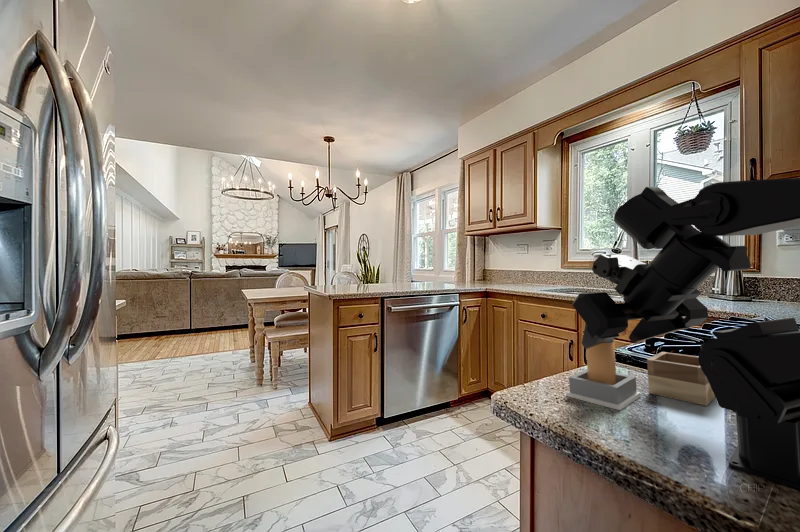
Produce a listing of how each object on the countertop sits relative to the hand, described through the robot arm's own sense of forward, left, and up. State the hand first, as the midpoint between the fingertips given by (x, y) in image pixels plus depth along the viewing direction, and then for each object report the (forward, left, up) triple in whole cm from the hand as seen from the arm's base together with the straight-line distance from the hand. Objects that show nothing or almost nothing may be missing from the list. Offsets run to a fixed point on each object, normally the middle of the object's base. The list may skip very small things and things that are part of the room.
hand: (608, 343), depth 54 cm
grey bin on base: (+1, +1, -9) cm, 9 cm away
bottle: (+1, +1, -8) cm, 9 cm away
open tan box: (+11, -7, -9) cm, 15 cm away
